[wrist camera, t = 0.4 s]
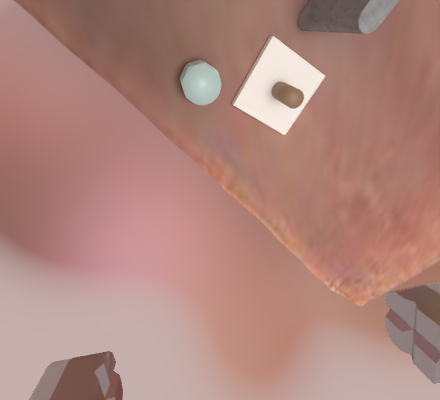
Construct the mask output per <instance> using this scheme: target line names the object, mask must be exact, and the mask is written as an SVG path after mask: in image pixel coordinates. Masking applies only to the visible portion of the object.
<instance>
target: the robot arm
mask: <svg viewBox="0 0 440 400" xmlns="http://www.w3.org/2000/svg"><path fill="white" fill-rule="evenodd" d="M386 305H387V306H388V307H389V308H390V310H389V312H388V313H387V315H386V317H385V326H386V329H387V332H388V334H389V337H390V338H391V340H392V341H393V343H394V344H395V345H396V346H397V347H398V348H399V349H400V350H402V351H404V352H406V353H408V354H410V355H412V360H413V363H414V364H415V365H416V366H417V367H418V368H419V369H420V370H421V371H422V372H423V373H424V374H425V375H426V376H427V377H428V378H429V379H430V380H431V382H432V383H434V384H436V383H440V282H437V281H435V282H431V283H426V284H422V285H419V286H414V287H410V288H405V289H401V290H396V291H392V292H389V293H388V295H387V296H386ZM115 363H116V361H115V358H114V355H113V353H112V352H110V351H108V352H103V353H97V354H91V355H86V356H81V357H75V358H72V359H67V360H61V361H56V362H52V363H51V364H50V365H49V366H48V367H47V369H46V370H45V372H44V374H43V376H42V377H41V379H40V381H39V383H38V385H37V387H36V388H35V390H34V392H33V394H32V395H31V397H30V399H29V400H122V396H123V389H122V382H121V379H120V375H119V374H117V373H116V372H114V371H113V370H114V367H115Z"/></svg>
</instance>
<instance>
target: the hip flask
mask: <svg viewBox="0 0 440 400" xmlns="http://www.w3.org/2000/svg"><path fill="white" fill-rule="evenodd" d="M399 1H400V0H309V1H308V3H307V4H306V6H305V7H304V9H303V10H302V12H301V13H300V15H299V17H298V26H299V28H300V29H301V30H303V31H318V32H338V33H357V34H370V33H372V32H374V31H375V30H376V29H377V28H378V27H379V25H380V24H381V23H382V21H383V20H384V19H385V18H386V16H387V15H388V14H389V12H390V11H391V10H392V9H393V8H394V7H395V5H396V4H397V3H398V2H399Z"/></svg>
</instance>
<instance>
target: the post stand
mask: <svg viewBox="0 0 440 400" xmlns="http://www.w3.org/2000/svg"><path fill="white" fill-rule="evenodd" d="M324 77H325V75H323V74H322V73H321V72H319V71H318V70H317V69H315V68H314V67H313V66H312V65H310V64H309V63H308V62H306V61H305V60H304V59H302V58H301V57H300V56H299V55H297V54H296V53H295V52H293V51H292V50H291V49H289V48H288V47H287V46H286V45H284V44H283V43H282V42H280V41H279V40H278V39H277V38H275V37H274V36H269V38H268V40H267V42H266V43H265V45H264V47H263V49H262V50H261V52H260V54H259V56H258V58H257V59H256V61H255V63H254V65H253V66H252V68H251V70H250V72H249V73H248V75H247V77H246V79H245V80H244V82H243V84H242V86H241V87H240V89H239V91H238V93H237V94H236V96H235V98H234V100H233V101H232V104H233V105H234V106H236V107H237V108H239V109H241V110H242V111H244V112H246V113H248V114H249V115H251V116H253V117H254V118H256V119H258V120H259V121H261V122H263V123H265V124H266V125H268V126H270V127H271V128H273V129H275V130H276V131H278V132H280V133H282V134H283V135H285V134H286V133H287V131H288V130H289V129H290V127H291V126H292V124H293V123H294V121H295V120H296V118H297V117H298V115H299V114H300V112H301V111H302V110H303V108H304V107H305V105H306V104H307V102H308V101H309V99H310V98H311V96H312V95H313V93H314V92H315V91H316V89H317V88H318V86H319V85H320V83H321V82H322V80H323V79H324Z"/></svg>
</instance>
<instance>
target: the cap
mask: <svg viewBox="0 0 440 400" xmlns="http://www.w3.org/2000/svg"><path fill="white" fill-rule="evenodd" d="M180 82H181V85H182V88H183V91H184V94H185V97H186V98H187V99H189V100H190V101H191V102H193V103H195V104H197V105H207V104H210V103H211V102H213V101H214V100H215V99H216V98H217V97H218V95H219V93H220V90H221V79H220V76H219V74H218V71H217V70H216V69H215V68H214V67H212V66H211V65H209V64H207V63H206V62H204V61H203V60H196V61H193V62H190V63H187V64H186V65H185V67H184V69H183V71H182V74H181V76H180Z"/></svg>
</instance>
